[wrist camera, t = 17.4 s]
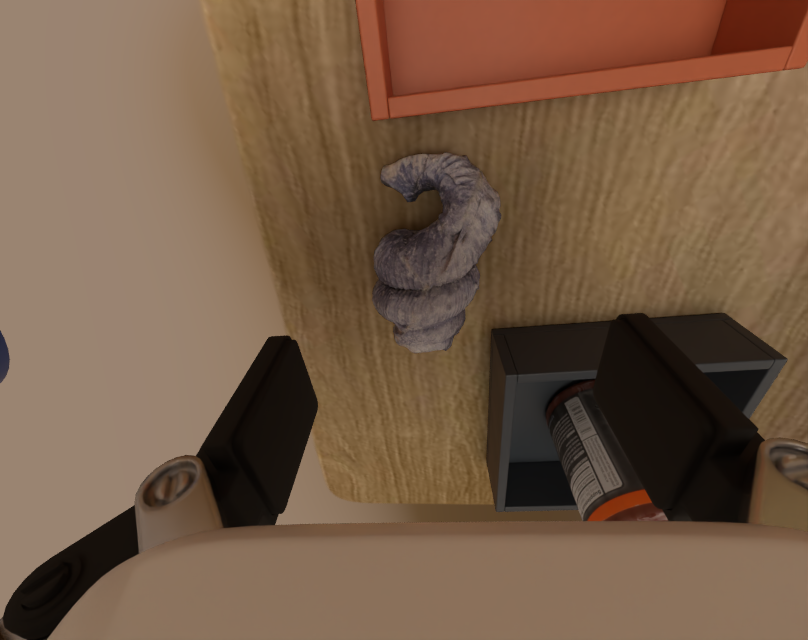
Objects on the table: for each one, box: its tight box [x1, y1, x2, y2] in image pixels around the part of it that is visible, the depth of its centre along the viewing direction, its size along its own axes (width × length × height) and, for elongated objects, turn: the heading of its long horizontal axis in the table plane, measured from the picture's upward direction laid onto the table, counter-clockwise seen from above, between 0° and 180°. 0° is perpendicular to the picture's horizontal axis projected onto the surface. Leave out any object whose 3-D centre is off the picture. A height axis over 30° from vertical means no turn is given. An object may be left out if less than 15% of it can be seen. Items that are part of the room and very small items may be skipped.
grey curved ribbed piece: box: [372, 152, 501, 353], centre depth 16 cm, size 5×5×10 cm
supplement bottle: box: [546, 380, 668, 521], centre depth 19 cm, size 6×6×11 cm
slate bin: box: [487, 313, 788, 512], centre depth 22 cm, size 13×13×4 cm
